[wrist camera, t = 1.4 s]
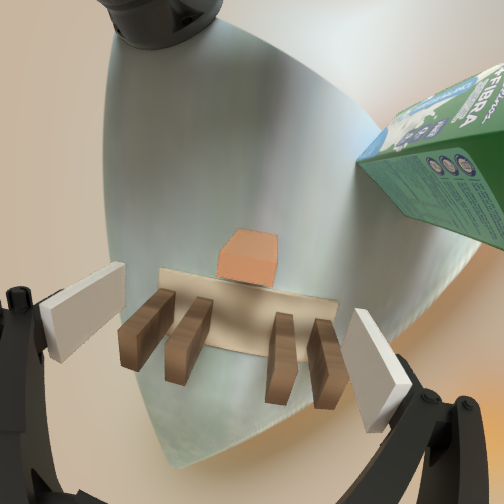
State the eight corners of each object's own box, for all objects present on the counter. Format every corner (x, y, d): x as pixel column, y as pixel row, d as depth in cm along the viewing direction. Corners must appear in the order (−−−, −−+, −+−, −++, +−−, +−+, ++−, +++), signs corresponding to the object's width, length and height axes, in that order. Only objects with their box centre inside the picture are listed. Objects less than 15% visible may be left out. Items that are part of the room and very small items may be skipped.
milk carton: (405, 216, 29) (580, 289, 5) (355, 161, 29) (535, 128, 4) (445, 166, 27) (613, 176, 3) (399, 112, 26) (559, 40, 2)
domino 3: (276, 311, 33) (274, 367, 22) (292, 314, 32) (297, 371, 22) (269, 342, 34) (264, 402, 23) (284, 344, 34) (286, 405, 23)
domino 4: (315, 318, 32) (329, 374, 22) (331, 320, 32) (349, 376, 22) (306, 347, 34) (314, 408, 23) (321, 349, 33) (334, 409, 23)
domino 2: (197, 296, 33) (164, 344, 22) (213, 299, 33) (186, 350, 22) (194, 327, 34) (164, 380, 23) (209, 330, 34) (184, 386, 23)
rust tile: (236, 245, 32) (216, 276, 21) (238, 228, 32) (219, 251, 21) (274, 252, 32) (272, 287, 21) (277, 235, 31) (277, 262, 21)
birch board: (162, 267, 34) (158, 269, 33) (337, 300, 33) (339, 303, 32) (159, 328, 36) (156, 332, 35) (318, 359, 35) (319, 364, 34)
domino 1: (160, 287, 33) (117, 329, 23) (175, 291, 33) (136, 335, 22) (159, 318, 34) (121, 366, 24) (173, 321, 34) (138, 372, 24)
